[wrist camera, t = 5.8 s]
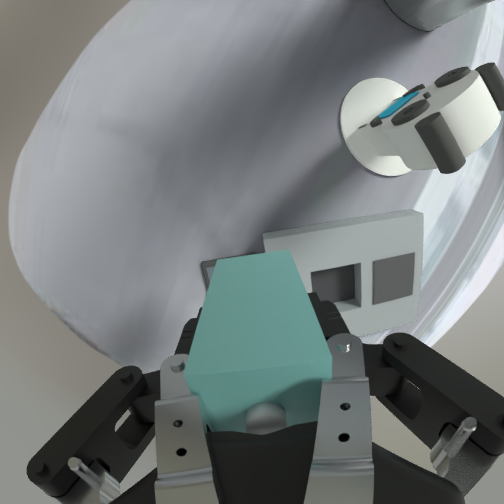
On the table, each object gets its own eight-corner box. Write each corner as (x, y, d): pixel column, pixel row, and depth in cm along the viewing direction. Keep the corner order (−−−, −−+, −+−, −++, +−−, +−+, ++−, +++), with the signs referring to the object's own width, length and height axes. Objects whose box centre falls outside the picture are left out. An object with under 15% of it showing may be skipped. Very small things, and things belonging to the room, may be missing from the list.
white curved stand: (390, 60, 23) (471, 17, 8) (443, 139, 25) (536, 143, 11) (318, 112, 25) (383, 72, 11) (381, 195, 28) (471, 230, 14)
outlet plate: (262, 233, 29) (263, 240, 27) (412, 209, 28) (424, 214, 26) (280, 340, 34) (282, 353, 31) (408, 311, 33) (417, 321, 30)
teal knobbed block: (217, 259, 15) (179, 390, 6) (288, 249, 15) (337, 372, 6) (230, 320, 17) (215, 460, 8) (295, 311, 16) (331, 447, 7)
